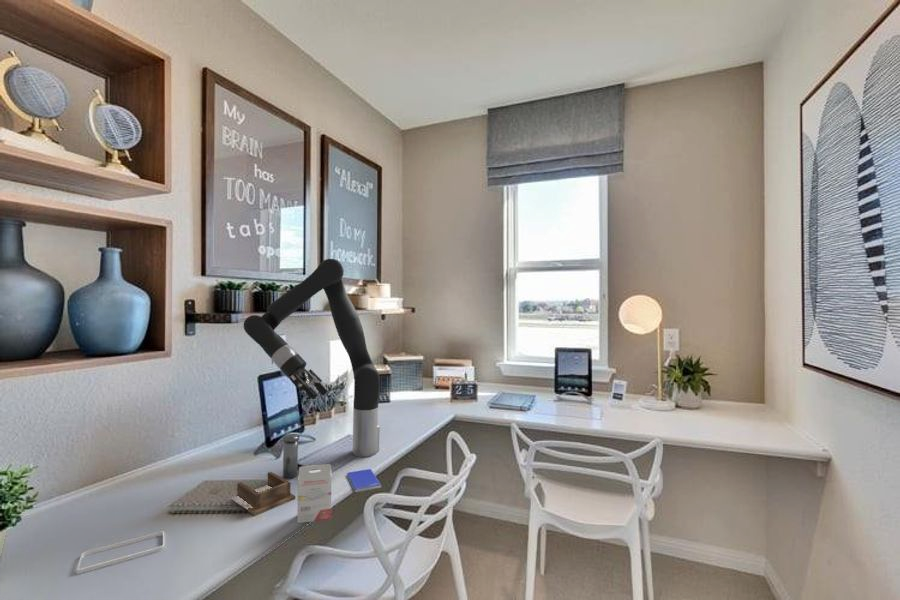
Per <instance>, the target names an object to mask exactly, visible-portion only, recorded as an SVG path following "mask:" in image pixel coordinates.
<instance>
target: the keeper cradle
mask: <svg viewBox="0 0 900 600" xmlns="http://www.w3.org/2000/svg"><path fill="white" fill-rule="evenodd" d="M267 484H268V486H270V487H272V488H270V489H267V490H265V491H262V492H259V493H258V492H256V491H255V490H253V488H251V487H250V486H248V485H246V484H245V483H243V482H242V481H240V482H237V485H236V486H237V488H236V489H237V492H236V496H239V497H240V498H242V499H243V500H244V501H246V502H247V503H248V504H250V505H251V506H252V507H253V508H248V510H249V511H247V512H249V514H251V515H252V516H254V517H255V516H257V515H259V514H262V513H265V512H267V511H269V510H272V509H274V508H277V507H279V506H281V505H284V504H287V503H288V502H290V501H291V502H292V501H293V500H295V499H296V495H294V494H293V493H291V490H292V489H291V487H292V486H291V485H292V484H291V481H289V480H288V479H284V478H283V476H281V475H278V474H276V473H274V472H272V471H269V472H267Z"/></svg>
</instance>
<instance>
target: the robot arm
mask: <svg viewBox="0 0 900 600" xmlns="http://www.w3.org/2000/svg"><path fill="white" fill-rule="evenodd" d="M344 272H345V270H344V265H343V264H342V263H341V262H340V261H339V260H338V259H335V258H327V259H324V260H322V261H321V262H320V263H319V265H318V266H317V267H316V269H315V270H313V271H312V272H311V274H310V275H309V276H308V277H306V278H305V279H303V281H301V282H300V283H299V284H297V285H295V286H294V287H293V288H291V289H290V290H288V291H287V292H285V293H284V294H282V295H280V297H278V298H277V299H276V300H274V301H273V302H271V303H270V304H269V305H268V307H267V310H266V312H264V313H263V314H262V315H261V316H260V315H255V314H254V315H252V314H251V315H250V316H248V317H246V318H245V319H244V321H243V330H244V331H245V333H246V334H247V335H248V337H250V338H251V339H252V340H253V341H254V342H255V343H256V344H258V346H259V347H261V348H262V350H263V351H264V352H265V353H266V355H267V356H268V358H270V359H271V360H272V362H273V363H274V364H275V366H276V367H277V368H278V369H279V370H280V371H281V372H282V374H284V376H286V377H287V378H288V379H289V380H290V382H291V383H292V384H293V385H294V386H295V387H296V388H297V389H298V391H300V392H302V391H303V393H306V395H308V396H309V397H310V398H311V399H312V400H315V399H316V398H317V397H318V396H319V394H320V395H321V396H325V395H326V394H327V393H328V389H327V388H326V387H325V386H324V385H323V384H322V382H323V379H321V378H320V376H319V375H317V374H316V373H315V372H314V371H313V370H312V369H309V370H308V369H306V366H307V362H306V361H305V359H303V358H302V356H301V355H300V354H299V353H298V352H297V351H296V350H295V349H294V348H293V347H292V346H291V345H289V343H288V342H287V341H286V340H284V338H283V337H282V336H280V335H279V334H278V333H277V332H276V331H275V330H276V329H277V327H278V326H279V325H280V324H281V323H282V322H283V321H284V320H286V319H287V318H288V317H290V315H292V314H294V312H296V311H297V310H298V309H299V308H301V307H302V306H303V305H304V304H305V303H306V302H308V301H309V300H310V299H312V297H314V296H315V295H317V293H319V292H320V291H322V290H323V291H324V294H325V295H326V298H327V302H328V305H329V309H330V312H331V316H332V320H333V323H334V326H335V329H336V332H337V334H338V336H339V339H340V341H341V344H342V346H343V348H344V349H345V351H346V353H347V355H348V358H349V361H350V363H351V368H352V373H353V379H354V382H353V383H354V384H353V385H354V387H353V388H354V389H353V412H352V420H353V421H352V452H353V453H352V454H353V456H356V457H360V458H362V457H370V456H371V457H372V456H374V455H375V454H377V453H378V451H380V429H381V427H380V425H378V424H379V400H380V387H381V386H380V379H381V378H380V373H379V371H378V370H377V368H376V366H375V365H374V362H373V360H372V359H371V356H370V354H369V351H368V348H367V344H366V337H365V333H364V329H363V325H362V322H361V319H360V317H359V314H358V312H357V310H356V308H355V306H354V304H353V302H352V301H351V299H350V297H349V296H348V295H349V294H348V293H347V290H346V287H345V284H344V279H343V278H344V277H343V276H344V274H345V273H344ZM314 388H315V389H316V390H317V391H315V389H314ZM318 392H319V394H318Z"/></svg>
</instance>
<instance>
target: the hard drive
mask: <svg viewBox="0 0 900 600" xmlns="http://www.w3.org/2000/svg"><path fill="white" fill-rule="evenodd" d="M346 477H347V479H348V481H349V483H350V484H351V485H350V486H351V487H352V489H353V491H354V493H359V492H364V491H365V492H366V491H369V490H370V491H371V490H375V489H381V488H382V483H380V481H379V479H378V478H377V476H376V475H375V473H374V472H373V470H372V469H371V468H368V469H361V470H357V471H351V472H350V471H349V472H347V473H346Z"/></svg>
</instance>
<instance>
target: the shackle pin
mask: <svg viewBox="0 0 900 600" xmlns="http://www.w3.org/2000/svg"><path fill="white" fill-rule="evenodd" d="M281 440H282V442H283V449H282V450H283V453H282V454H283V455H282V457H283V458H282V459H283V461H282V478H283V479H285V480H292V479H295V478H297V477H298V468H299V467H298V462H299V461H298V459H299V458H298V457H299V455H298V454H299V440H300V434H297V433H289V434H288V433H287V434H284V435H283V436H282V439H281Z"/></svg>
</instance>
